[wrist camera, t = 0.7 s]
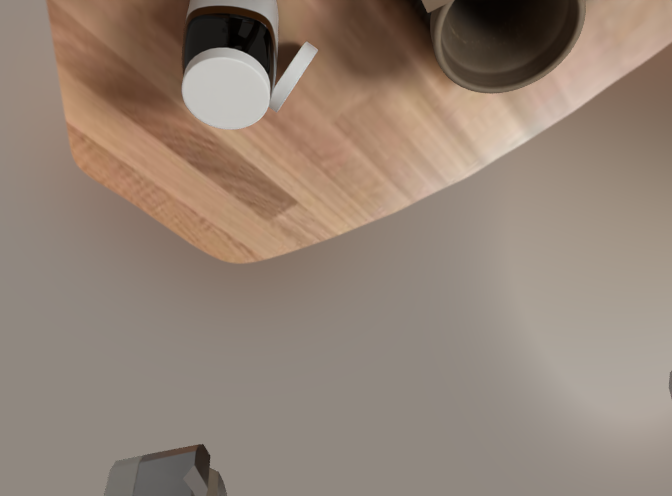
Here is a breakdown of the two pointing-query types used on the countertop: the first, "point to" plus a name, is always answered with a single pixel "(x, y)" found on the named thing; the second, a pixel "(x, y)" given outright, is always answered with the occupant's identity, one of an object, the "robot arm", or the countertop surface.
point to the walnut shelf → (434, 4)
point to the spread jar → (235, 62)
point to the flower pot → (504, 40)
